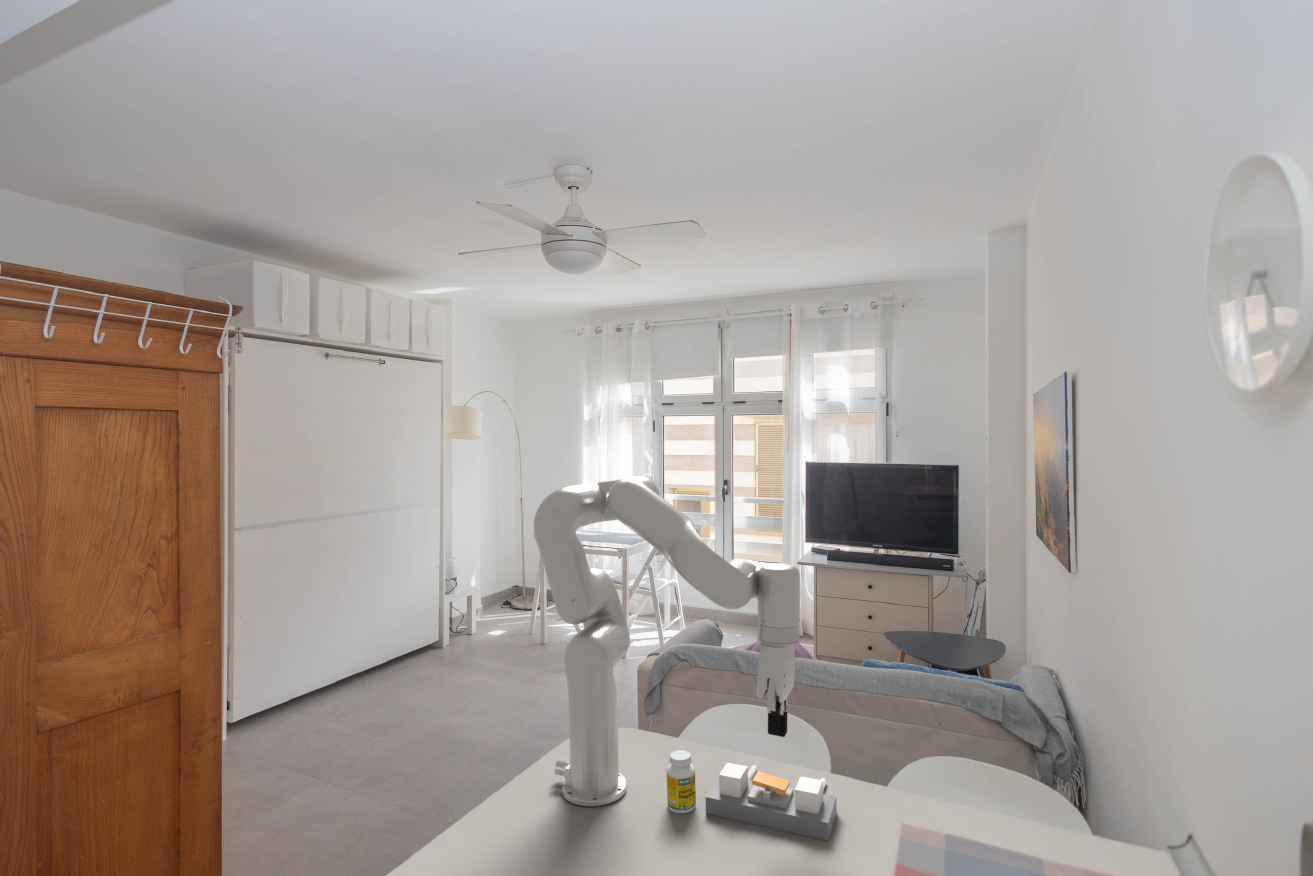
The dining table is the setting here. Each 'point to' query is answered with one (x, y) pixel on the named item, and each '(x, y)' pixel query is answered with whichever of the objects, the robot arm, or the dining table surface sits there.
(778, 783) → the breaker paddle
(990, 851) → the dining table surface
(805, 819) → the power strip
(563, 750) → the dining table surface
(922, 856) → the dining table surface
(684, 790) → the supplement bottle
